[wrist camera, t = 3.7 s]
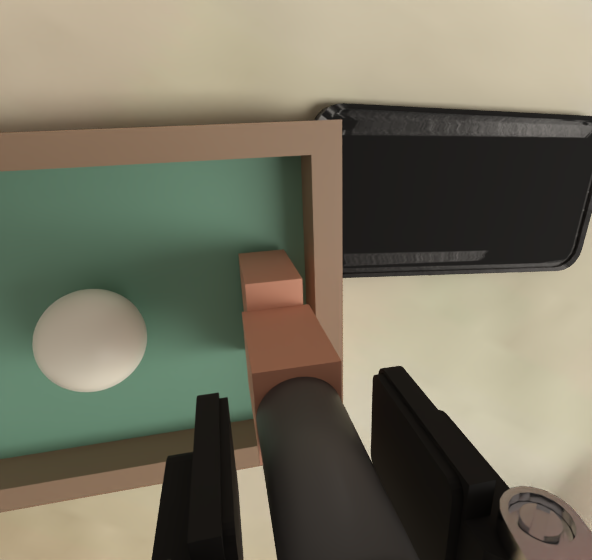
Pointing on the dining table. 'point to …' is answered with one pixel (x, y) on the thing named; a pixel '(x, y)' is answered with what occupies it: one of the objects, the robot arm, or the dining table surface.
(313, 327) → the kicker
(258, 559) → the dining table surface
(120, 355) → the ball
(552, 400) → the dining table surface
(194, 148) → the pitch
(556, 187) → the phone
